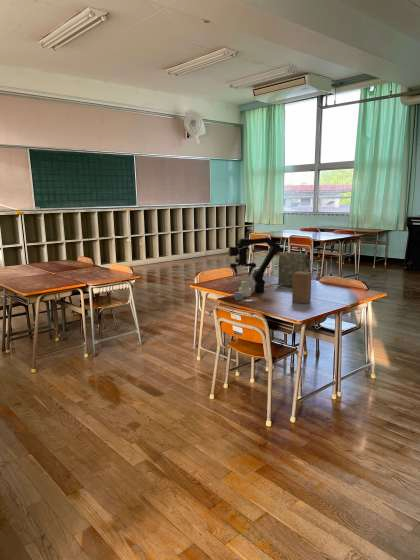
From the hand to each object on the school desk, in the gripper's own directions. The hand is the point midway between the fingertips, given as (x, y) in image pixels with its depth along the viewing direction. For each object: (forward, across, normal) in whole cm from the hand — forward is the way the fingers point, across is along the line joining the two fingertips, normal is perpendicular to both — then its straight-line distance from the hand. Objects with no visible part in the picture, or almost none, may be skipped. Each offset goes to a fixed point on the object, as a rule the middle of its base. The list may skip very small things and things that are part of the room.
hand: (242, 276), depth 305 cm
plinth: (+12, 0, +8) cm, 15 cm away
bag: (+12, -45, -17) cm, 50 cm away
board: (+12, +1, +26) cm, 29 cm away
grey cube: (+12, +7, +19) cm, 24 cm away
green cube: (+7, 0, +8) cm, 11 cm away
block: (+12, -33, +34) cm, 49 cm away
